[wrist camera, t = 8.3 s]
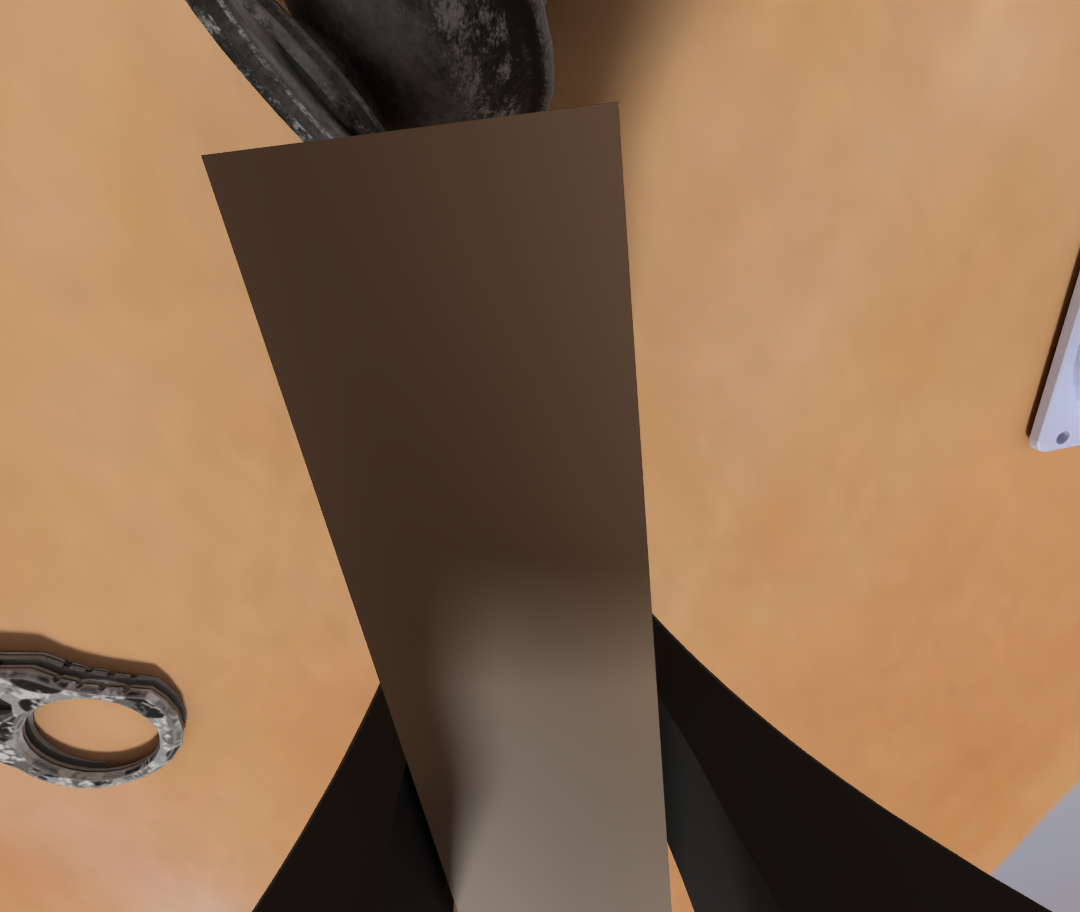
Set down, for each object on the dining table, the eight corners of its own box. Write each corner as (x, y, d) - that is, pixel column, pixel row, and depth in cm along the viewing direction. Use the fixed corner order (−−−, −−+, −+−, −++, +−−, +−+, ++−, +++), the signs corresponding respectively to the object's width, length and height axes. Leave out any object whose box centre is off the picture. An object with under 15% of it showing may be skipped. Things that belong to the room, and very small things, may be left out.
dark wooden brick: (523, 185, 9) (618, 102, 4) (597, 736, 15) (679, 1027, 9) (354, 209, 9) (199, 155, 4) (492, 760, 15) (512, 1074, 9)
